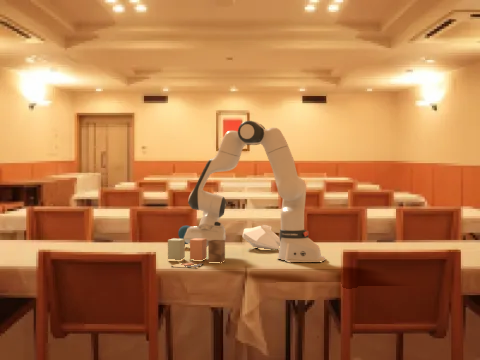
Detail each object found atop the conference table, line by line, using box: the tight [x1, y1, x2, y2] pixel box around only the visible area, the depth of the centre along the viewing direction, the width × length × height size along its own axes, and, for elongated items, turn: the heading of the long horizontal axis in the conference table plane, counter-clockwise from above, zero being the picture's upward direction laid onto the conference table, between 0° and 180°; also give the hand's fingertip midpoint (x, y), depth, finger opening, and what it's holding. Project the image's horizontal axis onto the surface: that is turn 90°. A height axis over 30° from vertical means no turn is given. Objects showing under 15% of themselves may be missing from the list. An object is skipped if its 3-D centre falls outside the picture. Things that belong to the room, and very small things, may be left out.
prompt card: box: [181, 262, 205, 267], centre depth 242 cm, size 12×9×1 cm
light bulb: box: [177, 225, 191, 245], centre depth 294 cm, size 8×8×12 cm
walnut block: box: [207, 239, 226, 263], centre depth 250 cm, size 6×6×10 cm
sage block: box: [167, 237, 186, 260], centre depth 256 cm, size 6×6×10 cm
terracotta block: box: [189, 238, 208, 260], centre depth 256 cm, size 6×6×10 cm
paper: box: [242, 223, 280, 249], centre depth 289 cm, size 25×24×12 cm
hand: (201, 249), depth 259 cm, fingers closed, pressing on terracotta block
